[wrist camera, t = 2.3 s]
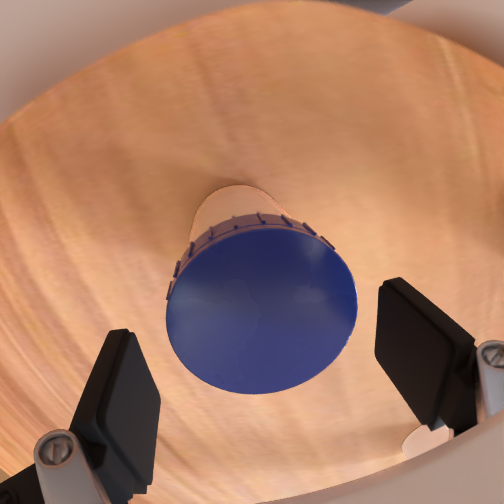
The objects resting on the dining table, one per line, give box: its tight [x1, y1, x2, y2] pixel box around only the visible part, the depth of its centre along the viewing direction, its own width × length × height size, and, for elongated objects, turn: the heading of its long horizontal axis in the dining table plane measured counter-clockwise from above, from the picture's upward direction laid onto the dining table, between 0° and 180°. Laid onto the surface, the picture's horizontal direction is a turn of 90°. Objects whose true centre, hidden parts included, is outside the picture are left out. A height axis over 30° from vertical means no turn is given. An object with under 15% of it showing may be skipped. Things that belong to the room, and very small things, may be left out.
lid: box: [166, 212, 358, 394], centre depth 11 cm, size 7×7×2 cm
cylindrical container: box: [402, 425, 449, 460], centre depth 22 cm, size 7×7×25 cm
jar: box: [187, 185, 292, 249], centre depth 16 cm, size 6×6×11 cm
